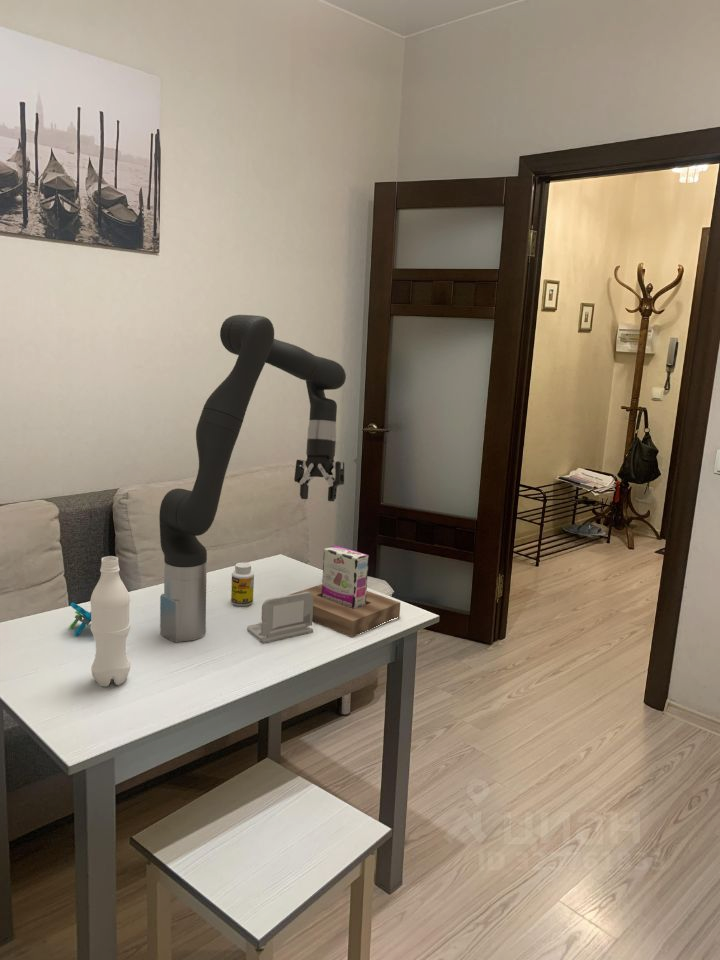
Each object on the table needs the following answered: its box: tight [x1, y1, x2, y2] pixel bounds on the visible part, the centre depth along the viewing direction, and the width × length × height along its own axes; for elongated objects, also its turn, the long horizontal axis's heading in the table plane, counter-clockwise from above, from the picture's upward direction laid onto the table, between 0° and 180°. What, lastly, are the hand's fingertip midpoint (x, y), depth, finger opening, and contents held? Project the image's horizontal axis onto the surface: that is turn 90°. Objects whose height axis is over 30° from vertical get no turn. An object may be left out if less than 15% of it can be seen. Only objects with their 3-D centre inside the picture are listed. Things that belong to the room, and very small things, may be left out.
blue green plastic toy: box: [69, 602, 91, 637], centre depth 165 cm, size 11×6×10 cm
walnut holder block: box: [286, 583, 401, 638], centre depth 184 cm, size 18×22×4 cm
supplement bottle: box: [230, 562, 255, 607], centre depth 187 cm, size 6×6×10 cm
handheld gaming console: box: [246, 592, 314, 644], centre depth 171 cm, size 13×9×10 cm
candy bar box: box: [321, 545, 370, 609], centre depth 183 cm, size 11×5×16 cm, turn 49°
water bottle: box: [89, 555, 131, 688], centre depth 142 cm, size 7×7×25 cm
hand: (317, 500), depth 194 cm, fingers open, 8 cm apart
